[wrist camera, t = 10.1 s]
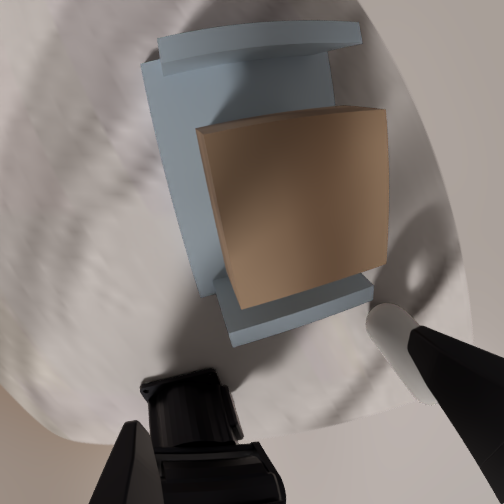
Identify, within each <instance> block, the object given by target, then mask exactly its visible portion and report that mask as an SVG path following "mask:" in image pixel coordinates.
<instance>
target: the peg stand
mask: <svg viewBox="0 0 504 504" xmlns="http://www.w3.org/2000/svg"><path fill="white" fill-rule="evenodd" d="M157 41H158V48H159V56H160V59H158V60H154V61H150V62H146V63H142V64H140V65H141V70H142V75H143V80H144V85H145V90H146V94H147V99H148V104H149V108H150V113H151V117H152V122H153V126H154V130H155V135H156V139H157V143H158V147H159V151H160V156H161V160H162V164H163V168H164V172H165V175H166V179H167V183H168V187H169V191H170V195H171V198H172V202H173V206H174V209H175V213H176V217H177V220H178V224H179V227H180V231H181V234H182V238H183V241H184V245H185V248H186V252H187V255H188V258H189V262H190V265H191V268H192V272H193V275H194V278H195V281H196V284H197V288H198V291H199V294H200V297H201V298H202V297H206V296H209V295H213V294H216V295H217V298H218V302H219V305H220V308H221V311H222V315H223V318H224V321H225V325H226V328H227V331H228V334H229V337H230V341H231V344H232V347H236V346H240V345H243V344H247V343H250V342H253V341H257V340H260V339H263V338H266V337H269V336H273V335H276V334H279V333H282V332H285V331H288V330H291V329H294V328H297V327H300V326H303V325H306V324H309V323H312V322H315V321H318V320H320V319H323V318H326V317H329V316H332V315H334V314H337V313H340V312H343V311H345V310H348V309H351V308H353V307H356V306H359V305H361V304H364V303H366V302H369V301H372V300H373V292H374V285H373V284H372V283H371V282H370V281H369V280H368V279H367V278H366V277H365V276H364V275H363V274H362V273H358V274H355V275H352V276H349V277H346V278H343V279H340V280H337V281H334V282H331V283H328V284H325V285H322V286H319V287H315V288H312V289H309V290H306V291H303V292H300V293H296V294H293V295H290V296H287V297H283V298H280V299H277V300H273V301H270V302H267V303H263V304H260V305H256V306H253V307H249V308H246V309H243V310H241V308H240V305H239V302H238V300H237V297H236V295H235V292H234V290H233V287H232V285H231V282H230V279H229V277H228V274H227V272H226V267H225V263H224V259H223V254H222V250H221V246H220V241H219V237H218V233H217V228H216V224H215V219H214V215H213V210H212V206H211V201H210V197H209V192H208V188H207V183H206V178H205V174H204V169H203V164H202V159H201V155H200V150H199V145H198V140H197V135H196V130H195V128H199V127H203V126H208V125H213V124H217V123H222V122H227V121H232V120H238V119H243V118H249V117H255V116H261V115H267V114H273V113H280V112H287V111H295V110H303V109H311V108H321V107H331V106H335V100H334V92H333V85H332V78H331V71H330V64H329V58H328V52H327V51H331V50H335V49H339V48H344V47H348V46H353V45H358V44H363V43H362V37H361V31H360V26H359V22H347V21H321V20H299V21H272V22H258V23H247V24H237V25H229V26H221V27H214V28H207V29H201V30H196V31H190V32H185V33H180V34H175V35H170V36H166V37H161V38H157Z"/></svg>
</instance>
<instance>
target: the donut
mask: <svg viewBox="0 0 504 504" xmlns="http://www.w3.org/2000/svg"><path fill="white" fill-rule="evenodd" d="M418 326H420V325H419V324H418V323H417V322H416V321H415V320H414V318H413V317H411V316H410V315H409V314H408V313H407V312H406V311H405V310H404V309H402V308H401V307H400V306H397V305H395V304H390V303H383V304H379V305H377V306H375V307H374V308H373V309H372V310H371V311H370V312H369V314H368V316H367V318H366V330H367V332H368V334H369V336H370V338H371V339H372V341H373V342H374V344H375V345H376V346H377V348H378V349H379V350H380V352H381V353H382V355H383V356H384V357H385V359H386V360H387V361H388V363H389V364H390V365H391V367H392V368H393V369H394V371H395V372H396V374H397V375H398V376H399V378H400V379H401V380H402V382H403V383H404V384H405V386H406V387H407V388H408V390H409V391H410V392H411V394H412V395H413V396H414V397H415V398H416V399H417V400H418V401H419V402H420V403H422V404H425V405H433V404H437V403H438V402H437V400H436V399H435V397H434V396H433V395H432V393H431V392H430V390H429V389H428V387H427V386H426V384H425V382H424V380H423V378H422V377H421V375H420V373H419V371H418V369H417V367H416V365H415V364H414V362H413V360H412V358H411V356H410V355H409V353H408V350H407V344H408V340H409V335H410V332H411V330H412V329H414V328H416V327H418Z"/></svg>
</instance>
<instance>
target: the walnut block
mask: <svg viewBox="0 0 504 504" xmlns="http://www.w3.org/2000/svg"><path fill="white" fill-rule="evenodd" d="M195 130H196V135H197V140H198V145H199V150H200V155H201V159H202V164H203V169H204V174H205V178H206V183H207V188H208V192H209V197H210V201H211V206H212V210H213V215H214V219H215V224H216V228H217V233H218V237H219V241H220V246H221V250H222V254H223V259H224V263H225V267H226V272H227V274H228V277H229V279H230V282H231V285H232V287H233V290H234V292H235V295H236V297H237V300H238V302H239V305H240V308H241V310H243V309H246V308H249V307H253V306H256V305H260V304H263V303H267V302H270V301H273V300H277V299H280V298H283V297H287V296H290V295H293V294H296V293H300V292H303V291H306V290H309V289H312V288H315V287H319V286H322V285H325V284H328V283H331V282H334V281H337V280H340V279H343V278H346V277H349V276H352V275H355V274H358V273H361V272H364V271H367V270H370V269H373V268H376V267H379V266H382V265H384V264H386V259H387V242H388V217H389V161H388V136H387V120H386V110H385V109H377V108H368V107H358V106H346V105H342V106H331V107H321V108H311V109H303V110H295V111H287V112H280V113H273V114H267V115H261V116H255V117H249V118H243V119H238V120H232V121H227V122H222V123H217V124H213V125H208V126H203V127H199V128H195Z"/></svg>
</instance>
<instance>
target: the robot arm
mask: <svg viewBox="0 0 504 504" xmlns="http://www.w3.org/2000/svg"><path fill="white" fill-rule="evenodd" d="M407 350H408V353H409V355H410V356H411V358H412V360H413V362H414V364H415V365H416V367H417V369H418V371H419V373H420V375H421V377H422V378H423V380H424V382H425V384H426V386H427V387H428V389H429V390H430V392H431V393H432V395H433V396H434V397H435V399H436V400H437V402H438V403H439V405H440V406H441V408H442V409H443V411H444V412H445V414H446V415H447V417H448V418H449V420H450V421H451V423H452V424H453V426H454V427H455V429H456V431H457V432H458V433H459V435H460V437H461V438H462V440H463V442H464V443H465V445H466V446H467V448H468V449H469V451H470V453H471V454H472V456H473V457H474V459H475V461H476V462H477V464H478V466H479V467H480V469H481V471H482V473H483V474H484V476H485V478H486V479H487V481H488V483H489V484H490V486H491V488H492V489H493V491H494V493H495V495H496V497H497V498H498V500H499V502H500V503H501V504H503V503H504V358H503V357H500V356H498V355H495V354H492V353H490V352H488V351H485V350H483V349H480V348H477V347H475V346H472V345H470V344H467V343H465V342H462V341H460V340H457V339H455V338H452V337H450V336H447V335H445V334H442V333H440V332H437V331H435V330H432V329H430V328H427V327H425V326H418V327H416V328H414V329H412V330H411V332H410V335H409V340H408V344H407ZM209 374H210V375H209ZM140 393H141V394H142V396H143V397H144V399H145V400H146V401H147V403H148V410H149V427H150V435H149V433H148V432H147V430H146V429H145V428H144V427H143V426H142V424H141V423H140V422H139V421H137V420H133V421H127V422H125V423H124V425H123V427H122V429H121V431H120V434H119V436H118V438H117V440H116V442H115V445H114V447H113V449H112V451H111V453H110V456H109V458H108V460H107V462H106V465H105V467H104V469H103V472H102V474H101V476H100V478H99V481H98V483H97V486H96V488H95V490H94V492H93V495H92V497H91V499H90V502H89V504H286V493H285V488H284V484H283V482H282V479H281V477H280V475H279V474H278V472H277V471H276V469H275V467H274V466H273V464H272V462H271V461H270V459H269V458H268V456H267V455H266V453H265V451H264V449H263V448H262V446H261V445H260V443H259V442H251V443H250V444H239V443H238V440H242V439H243V437H244V435H243V431H242V428H241V425H240V422H239V418H238V415H237V412H236V408H235V405H234V401H233V399H232V396H231V394H230V391H229V389H228V386H226V385H223V386H222V385H221V382H220V379H219V377H218V374H217V372H216V370H215V369H213V368H209V369H205V370H201V371H197V372H193V373H189V374H185V375H181V376H177V377H173V378H169V379H164V380H160V381H156V382H151V383H147V384H143V385H141V386H140Z"/></svg>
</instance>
